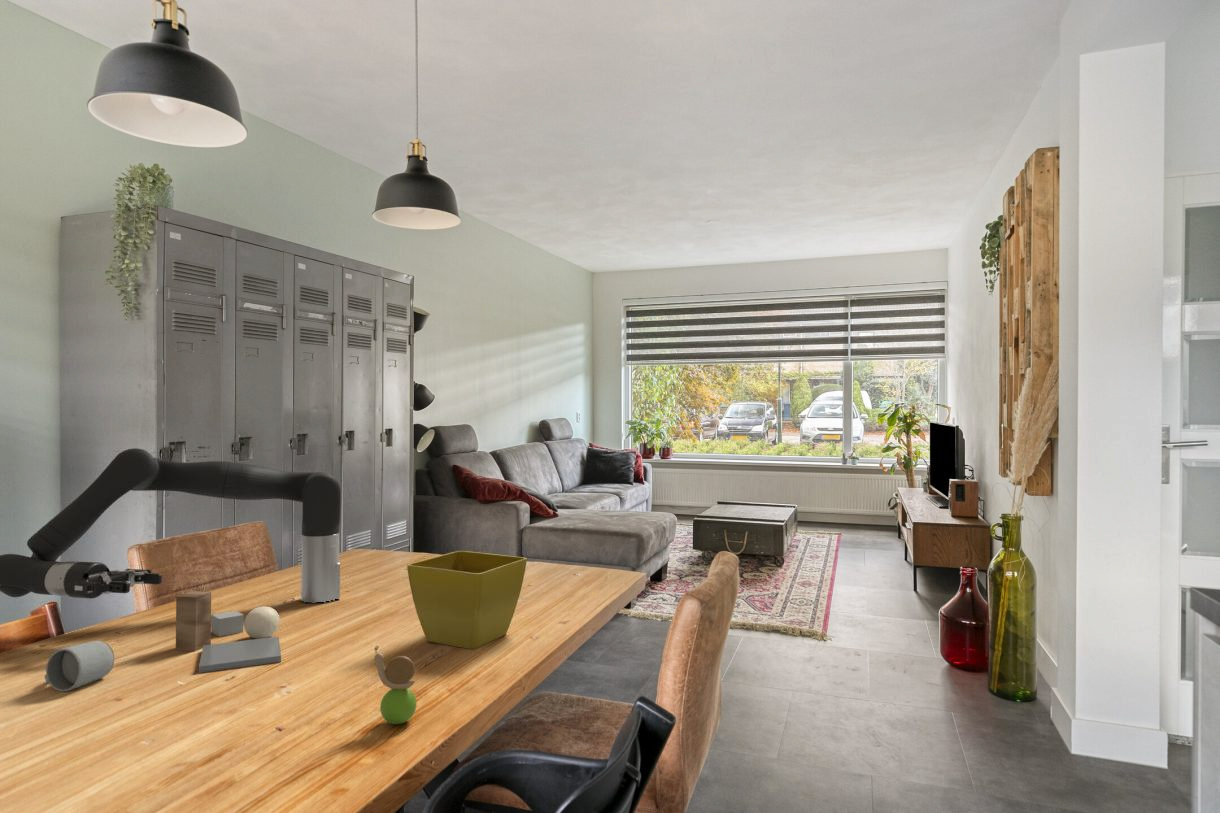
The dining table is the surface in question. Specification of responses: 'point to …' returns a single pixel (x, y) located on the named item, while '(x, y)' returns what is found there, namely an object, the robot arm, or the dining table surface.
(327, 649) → the dining table surface
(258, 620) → the steamed bun
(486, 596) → the flower pot
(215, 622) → the grey block
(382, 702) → the snail figurine
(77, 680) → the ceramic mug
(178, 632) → the walnut block
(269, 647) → the plate
